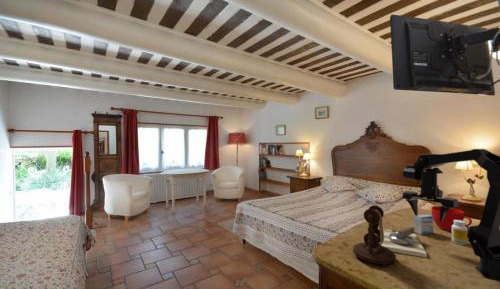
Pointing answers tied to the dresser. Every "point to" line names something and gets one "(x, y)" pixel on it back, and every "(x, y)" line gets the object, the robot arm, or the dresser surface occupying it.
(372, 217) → the brown tall stacked figurine
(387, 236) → the ash stand
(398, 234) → the cam lever
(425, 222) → the medicine box
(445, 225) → the ceramic cup
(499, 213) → the robot arm
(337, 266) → the dresser surface
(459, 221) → the supplement bottle
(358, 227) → the dresser surface
